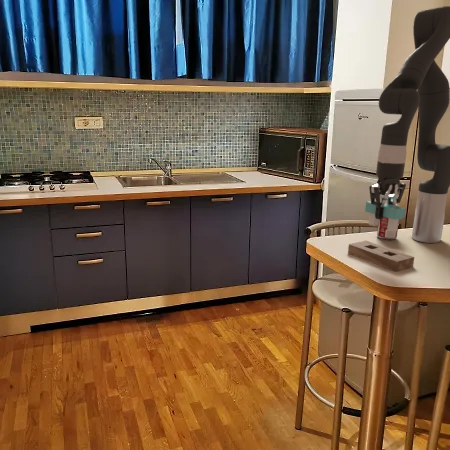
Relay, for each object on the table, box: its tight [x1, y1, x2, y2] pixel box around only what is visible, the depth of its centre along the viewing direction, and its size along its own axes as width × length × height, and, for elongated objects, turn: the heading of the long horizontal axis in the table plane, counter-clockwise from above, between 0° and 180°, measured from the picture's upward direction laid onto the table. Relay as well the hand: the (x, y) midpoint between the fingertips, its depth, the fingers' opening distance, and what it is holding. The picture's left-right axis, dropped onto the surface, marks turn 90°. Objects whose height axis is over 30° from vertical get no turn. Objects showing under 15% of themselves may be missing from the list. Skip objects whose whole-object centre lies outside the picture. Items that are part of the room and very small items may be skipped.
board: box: [347, 240, 415, 272], centre depth 137 cm, size 8×18×3 cm, turn 32°
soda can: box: [376, 204, 400, 241], centre depth 158 cm, size 7×7×12 cm
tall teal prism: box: [364, 200, 406, 232], centre depth 134 cm, size 4×11×7 cm, turn 32°
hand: (383, 217), depth 134 cm, fingers closed on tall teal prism, 4 cm apart
